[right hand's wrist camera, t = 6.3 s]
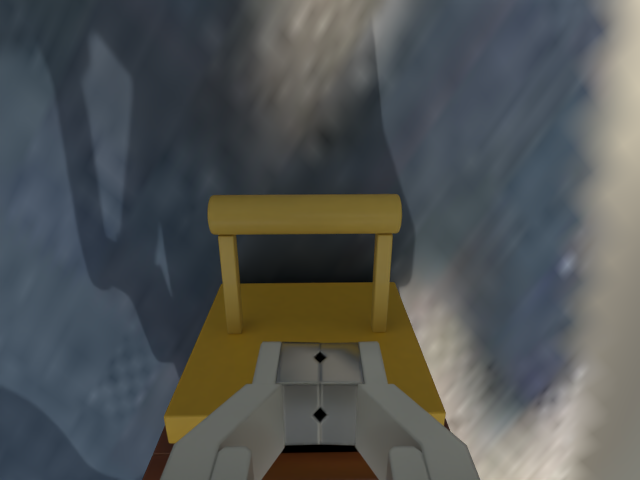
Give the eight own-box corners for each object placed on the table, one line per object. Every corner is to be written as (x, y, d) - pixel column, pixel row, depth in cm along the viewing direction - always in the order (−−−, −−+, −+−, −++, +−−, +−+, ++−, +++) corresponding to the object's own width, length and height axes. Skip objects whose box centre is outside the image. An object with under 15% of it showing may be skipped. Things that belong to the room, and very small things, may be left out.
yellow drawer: (209, 170, 19) (130, 245, 11) (403, 169, 20) (471, 242, 11) (247, 538, 29) (221, 726, 21) (375, 536, 29) (401, 721, 21)
